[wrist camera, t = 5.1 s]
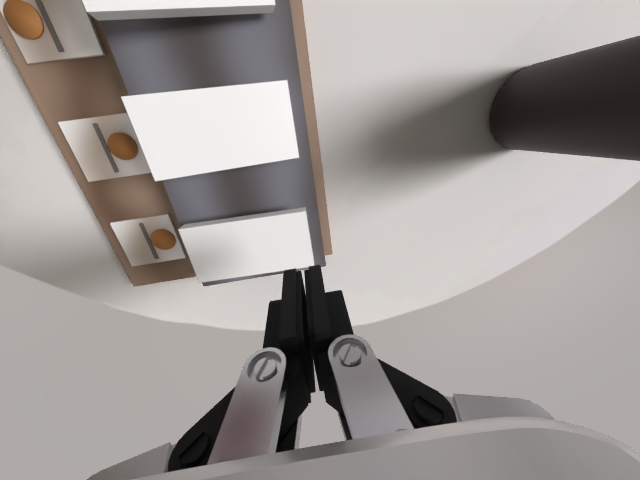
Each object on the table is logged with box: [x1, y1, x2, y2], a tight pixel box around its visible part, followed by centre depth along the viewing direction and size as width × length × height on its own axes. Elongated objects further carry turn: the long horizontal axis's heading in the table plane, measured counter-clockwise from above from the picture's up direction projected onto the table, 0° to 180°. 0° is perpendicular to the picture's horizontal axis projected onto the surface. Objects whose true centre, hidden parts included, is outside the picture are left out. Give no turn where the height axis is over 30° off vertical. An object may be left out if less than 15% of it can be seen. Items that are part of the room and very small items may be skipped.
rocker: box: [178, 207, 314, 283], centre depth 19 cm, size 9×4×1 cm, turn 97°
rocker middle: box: [121, 80, 299, 181], centre depth 15 cm, size 9×4×1 cm, turn 97°
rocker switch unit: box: [0, 0, 332, 286], centre depth 19 cm, size 20×25×4 cm
